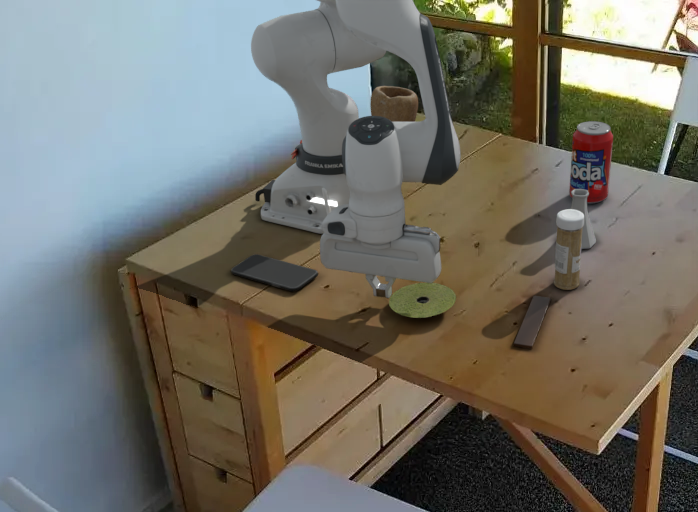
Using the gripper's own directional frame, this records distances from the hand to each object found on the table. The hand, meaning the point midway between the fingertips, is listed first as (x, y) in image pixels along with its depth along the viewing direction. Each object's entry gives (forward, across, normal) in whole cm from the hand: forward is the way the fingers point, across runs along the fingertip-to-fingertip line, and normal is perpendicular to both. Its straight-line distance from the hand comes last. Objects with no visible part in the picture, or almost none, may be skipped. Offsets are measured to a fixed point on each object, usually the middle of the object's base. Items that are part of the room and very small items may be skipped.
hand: (383, 295), depth 158 cm
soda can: (+2, -26, -50) cm, 56 cm away
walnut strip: (+2, -26, -1) cm, 26 cm away
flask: (+2, -27, -30) cm, 41 cm away
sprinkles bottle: (+2, -28, -14) cm, 32 cm away
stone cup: (+2, +21, -60) cm, 63 cm away
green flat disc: (+2, -7, 0) cm, 7 cm away
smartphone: (+2, +22, -4) cm, 22 cm away
